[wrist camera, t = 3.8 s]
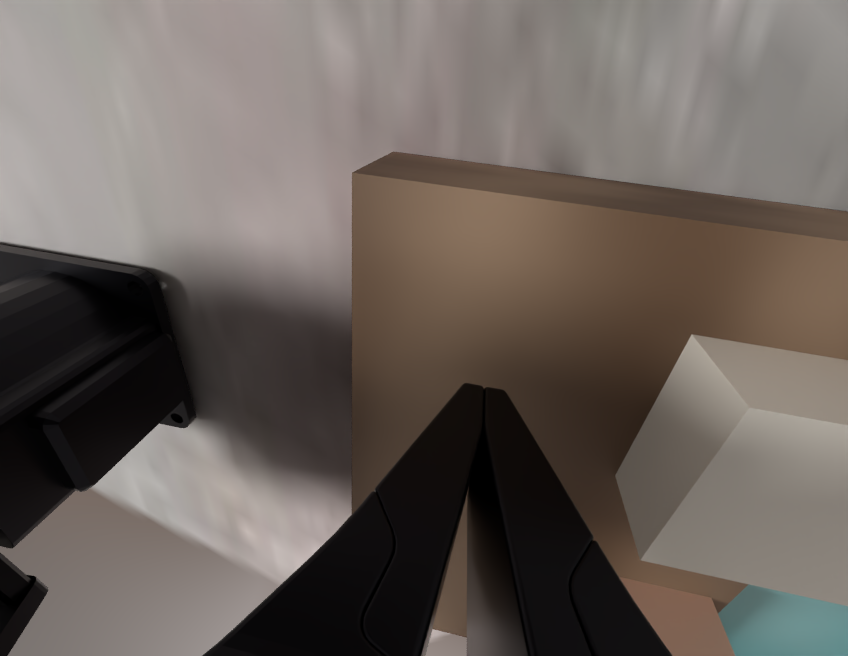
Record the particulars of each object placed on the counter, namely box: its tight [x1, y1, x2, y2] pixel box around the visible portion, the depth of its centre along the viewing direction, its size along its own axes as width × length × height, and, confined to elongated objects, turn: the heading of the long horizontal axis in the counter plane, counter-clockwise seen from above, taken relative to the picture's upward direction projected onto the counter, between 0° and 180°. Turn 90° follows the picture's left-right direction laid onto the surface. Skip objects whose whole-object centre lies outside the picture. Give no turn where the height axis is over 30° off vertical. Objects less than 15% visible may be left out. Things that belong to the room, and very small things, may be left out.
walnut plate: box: [352, 152, 848, 637], centre depth 12 cm, size 11×16×3 cm
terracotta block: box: [619, 577, 735, 656], centre depth 11 cm, size 4×4×2 cm
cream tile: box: [615, 334, 848, 606], centre depth 7 cm, size 4×4×2 cm
